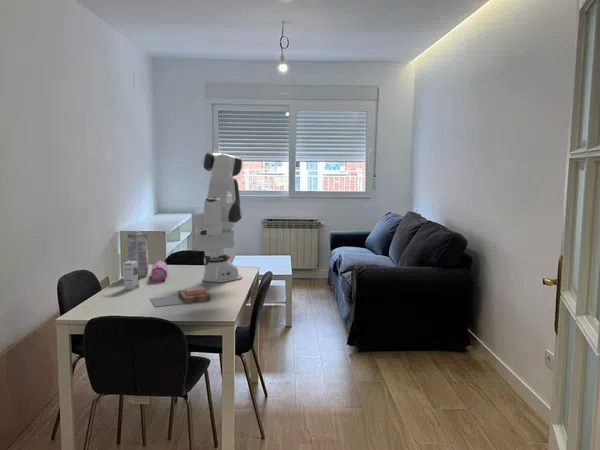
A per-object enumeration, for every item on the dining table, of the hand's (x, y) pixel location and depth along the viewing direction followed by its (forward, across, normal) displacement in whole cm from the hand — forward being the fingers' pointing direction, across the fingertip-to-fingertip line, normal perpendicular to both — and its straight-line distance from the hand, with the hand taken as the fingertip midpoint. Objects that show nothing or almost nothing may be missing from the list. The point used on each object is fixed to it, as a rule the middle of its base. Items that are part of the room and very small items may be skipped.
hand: (214, 257), depth 257 cm
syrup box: (+19, +36, -36) cm, 54 cm away
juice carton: (+19, +28, -66) cm, 74 cm away
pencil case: (+20, +18, -55) cm, 61 cm away
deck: (+19, +11, 0) cm, 22 cm away
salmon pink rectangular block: (+17, +10, 0) cm, 19 cm away
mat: (+19, +24, 0) cm, 31 cm away
